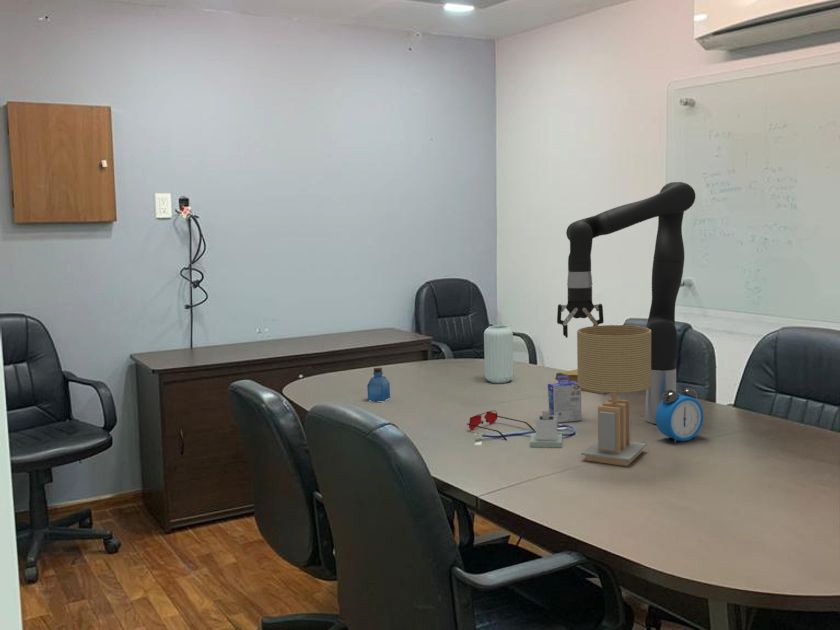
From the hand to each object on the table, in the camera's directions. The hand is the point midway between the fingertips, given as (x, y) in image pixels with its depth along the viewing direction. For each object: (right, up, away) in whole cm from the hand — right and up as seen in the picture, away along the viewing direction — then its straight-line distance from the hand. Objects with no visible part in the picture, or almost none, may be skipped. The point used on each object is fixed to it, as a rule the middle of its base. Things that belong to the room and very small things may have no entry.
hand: (580, 337), depth 250 cm
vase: (-18, -20, +71) cm, 76 cm away
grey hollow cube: (-13, -29, -15) cm, 35 cm away
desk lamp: (+3, -32, -30) cm, 44 cm away
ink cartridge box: (-3, -28, +9) cm, 29 cm away
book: (+16, -21, +56) cm, 62 cm away
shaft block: (-13, -31, -15) cm, 37 cm away
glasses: (-25, -30, 0) cm, 39 cm away
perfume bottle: (-65, -25, +46) cm, 84 cm away
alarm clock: (+26, -30, -16) cm, 43 cm away
